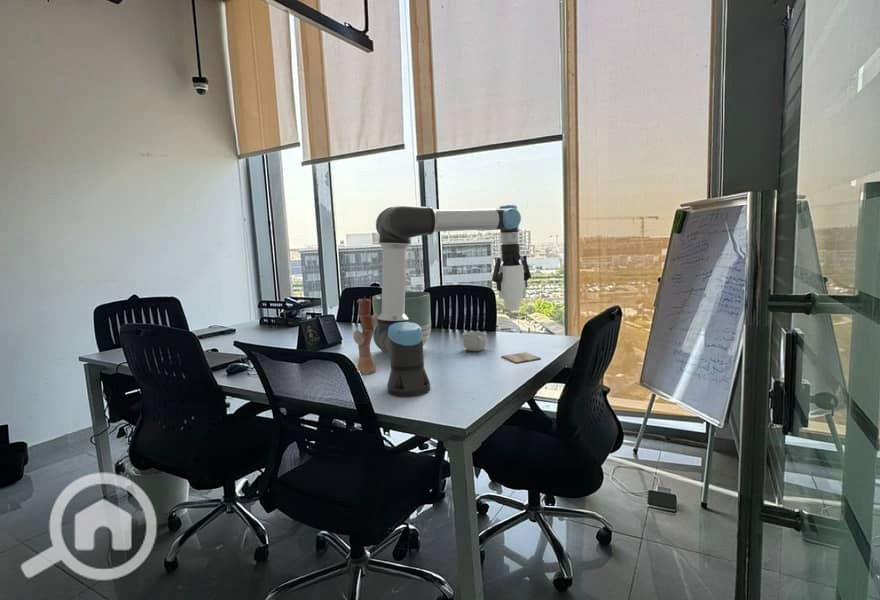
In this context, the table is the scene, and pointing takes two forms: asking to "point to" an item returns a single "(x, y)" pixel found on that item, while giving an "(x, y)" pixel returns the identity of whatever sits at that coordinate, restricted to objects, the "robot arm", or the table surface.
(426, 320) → the planter
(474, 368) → the table surface
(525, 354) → the coaster
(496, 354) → the table surface
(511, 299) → the cup
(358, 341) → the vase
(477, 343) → the teacup
